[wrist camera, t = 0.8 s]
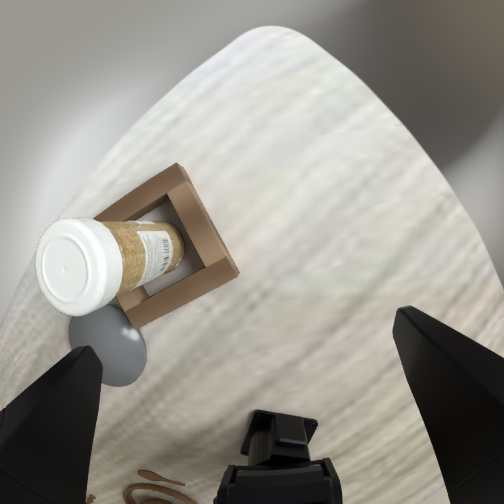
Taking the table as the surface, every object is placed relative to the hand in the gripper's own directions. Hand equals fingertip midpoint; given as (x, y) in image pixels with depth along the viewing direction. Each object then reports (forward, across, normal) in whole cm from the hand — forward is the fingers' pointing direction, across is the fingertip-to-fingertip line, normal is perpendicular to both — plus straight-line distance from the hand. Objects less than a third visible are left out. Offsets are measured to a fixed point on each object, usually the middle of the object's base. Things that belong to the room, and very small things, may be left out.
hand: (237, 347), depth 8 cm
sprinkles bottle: (+17, +7, +4) cm, 19 cm away
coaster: (+13, +15, +12) cm, 24 cm away
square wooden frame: (+16, +7, +4) cm, 19 cm away
